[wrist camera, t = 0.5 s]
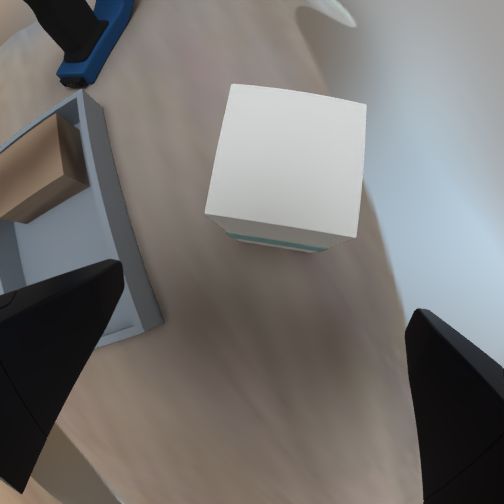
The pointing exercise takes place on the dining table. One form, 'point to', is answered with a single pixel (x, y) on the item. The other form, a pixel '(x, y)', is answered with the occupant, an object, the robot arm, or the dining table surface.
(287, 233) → the carton
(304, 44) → the dining table surface
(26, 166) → the walnut block
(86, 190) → the tote
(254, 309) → the dining table surface
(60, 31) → the handheld scanner
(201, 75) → the dining table surface
